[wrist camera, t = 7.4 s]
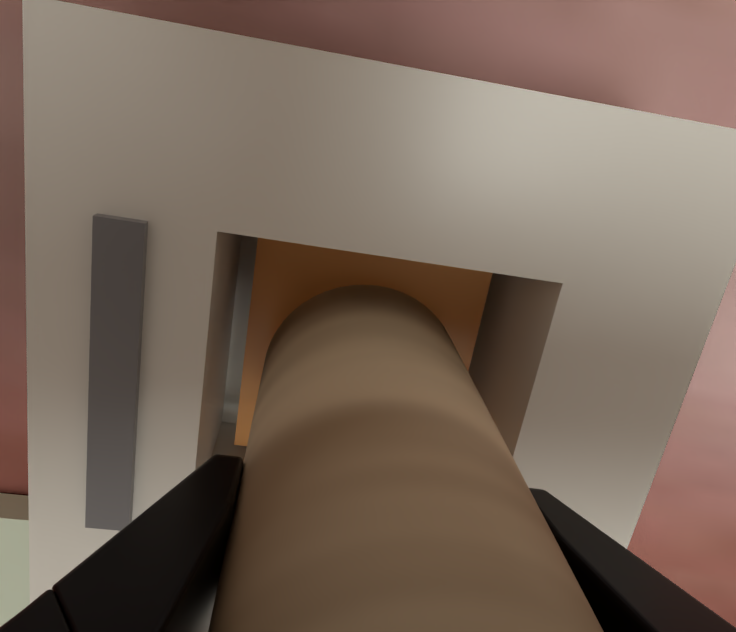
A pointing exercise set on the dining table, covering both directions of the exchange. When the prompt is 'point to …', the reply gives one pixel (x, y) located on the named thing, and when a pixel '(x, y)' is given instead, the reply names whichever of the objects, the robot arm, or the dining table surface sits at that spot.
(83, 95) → the box
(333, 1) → the dining table surface
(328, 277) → the guard button
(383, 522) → the tan cylinder
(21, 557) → the rest pad
